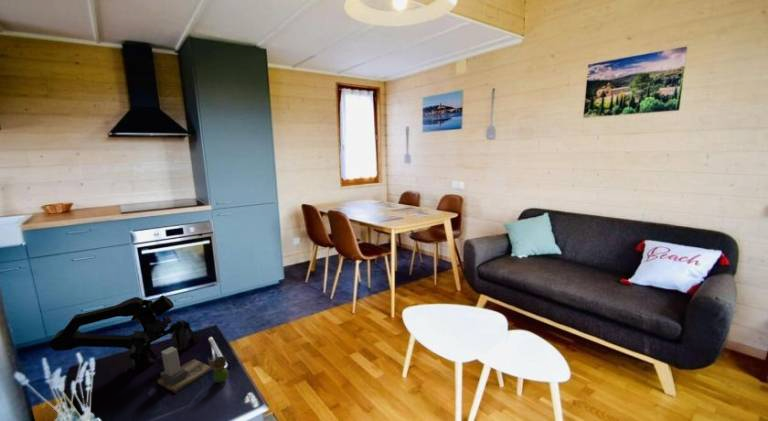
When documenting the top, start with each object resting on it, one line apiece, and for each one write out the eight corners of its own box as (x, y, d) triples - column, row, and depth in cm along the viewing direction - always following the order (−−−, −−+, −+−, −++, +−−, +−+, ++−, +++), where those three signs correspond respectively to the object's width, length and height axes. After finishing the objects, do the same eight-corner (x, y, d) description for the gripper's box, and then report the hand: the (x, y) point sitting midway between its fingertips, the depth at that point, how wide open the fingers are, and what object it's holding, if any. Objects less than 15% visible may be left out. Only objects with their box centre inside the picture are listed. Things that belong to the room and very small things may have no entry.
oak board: (158, 383, 136) (157, 380, 135) (194, 361, 148) (194, 358, 148) (175, 393, 130) (174, 390, 129) (211, 369, 142) (211, 366, 142)
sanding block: (161, 378, 136) (155, 351, 134) (176, 370, 141) (171, 343, 139) (171, 385, 132) (166, 357, 130) (187, 376, 137) (182, 349, 135)
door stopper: (180, 351, 156) (175, 327, 153) (173, 347, 159) (168, 324, 157) (199, 341, 163) (195, 318, 161) (192, 338, 167) (188, 315, 164)
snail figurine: (209, 382, 134) (204, 355, 132) (225, 374, 139) (221, 347, 137) (214, 389, 131) (210, 361, 128) (231, 380, 135) (227, 353, 133)
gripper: (128, 324, 132) (148, 358, 129) (177, 303, 148) (196, 333, 145) (123, 337, 138) (142, 370, 135) (170, 316, 154) (188, 345, 150)
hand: (168, 353), depth 141 cm, fingers open, 9 cm apart
